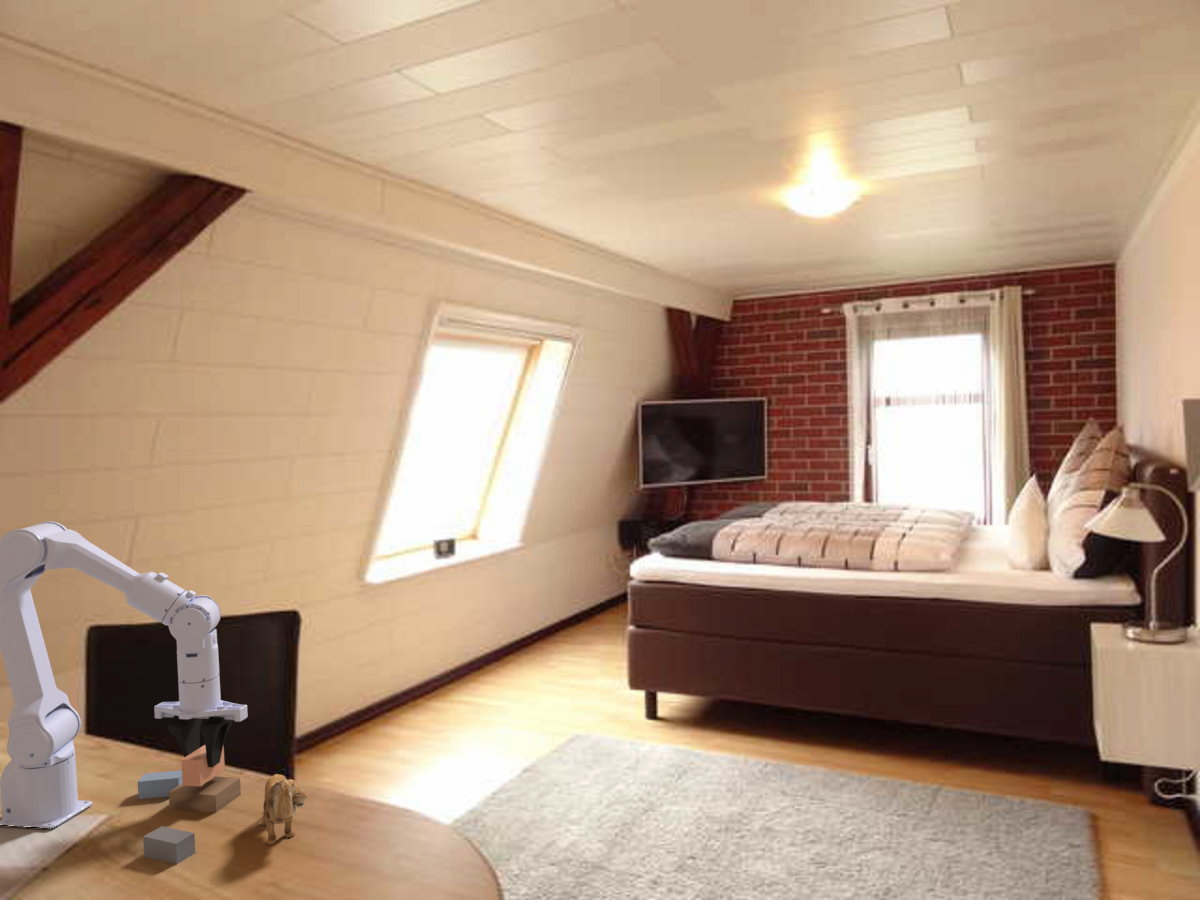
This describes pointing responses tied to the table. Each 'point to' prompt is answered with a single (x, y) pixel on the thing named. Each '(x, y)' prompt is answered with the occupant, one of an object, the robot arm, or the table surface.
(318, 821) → the table surface
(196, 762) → the terracotta brick
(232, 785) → the walnut block
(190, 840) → the gray brick
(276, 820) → the lion figurine
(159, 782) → the slate-blue brick
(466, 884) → the table surface
